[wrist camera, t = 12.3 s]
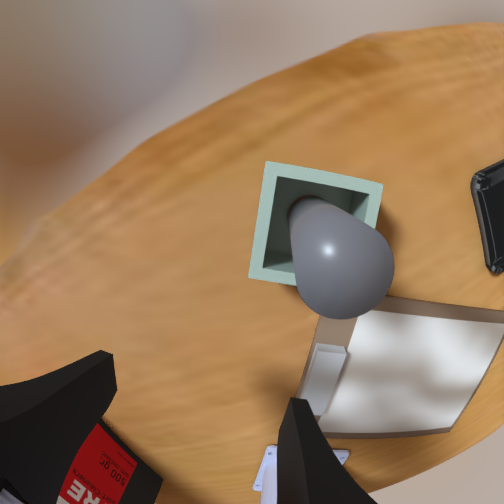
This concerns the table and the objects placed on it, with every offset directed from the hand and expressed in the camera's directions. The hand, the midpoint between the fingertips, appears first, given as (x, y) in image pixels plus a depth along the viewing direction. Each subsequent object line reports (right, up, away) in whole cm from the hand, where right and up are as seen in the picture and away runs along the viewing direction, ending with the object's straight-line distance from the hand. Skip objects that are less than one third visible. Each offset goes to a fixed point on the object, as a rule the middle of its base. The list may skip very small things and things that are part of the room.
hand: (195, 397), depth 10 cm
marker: (+6, +8, +6) cm, 11 cm away
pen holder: (+6, +8, +7) cm, 12 cm away
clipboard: (+15, -5, +9) cm, 18 cm away
